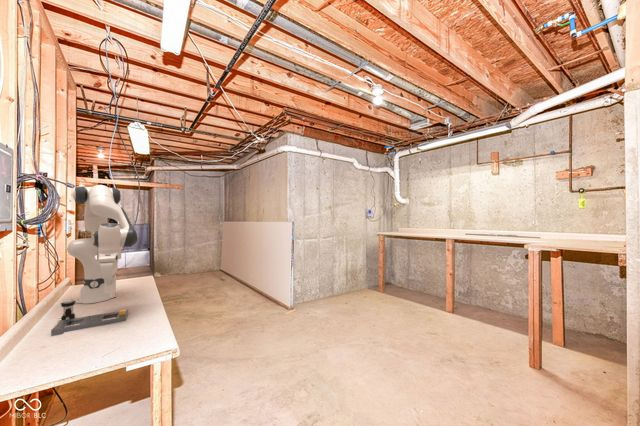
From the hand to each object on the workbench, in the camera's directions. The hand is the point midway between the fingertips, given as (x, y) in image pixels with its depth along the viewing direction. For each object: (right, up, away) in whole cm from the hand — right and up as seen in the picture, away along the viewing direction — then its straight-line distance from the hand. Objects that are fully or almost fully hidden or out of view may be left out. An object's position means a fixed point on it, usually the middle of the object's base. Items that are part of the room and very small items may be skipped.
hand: (110, 283), depth 128 cm
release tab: (+4, -18, +2) cm, 19 cm away
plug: (0, -4, 0) cm, 4 cm away
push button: (-24, -19, +3) cm, 31 cm away
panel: (-5, -19, -3) cm, 20 cm away
